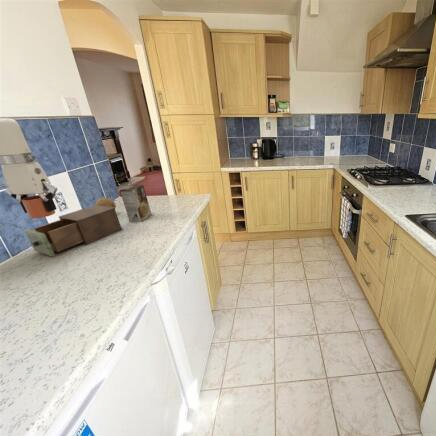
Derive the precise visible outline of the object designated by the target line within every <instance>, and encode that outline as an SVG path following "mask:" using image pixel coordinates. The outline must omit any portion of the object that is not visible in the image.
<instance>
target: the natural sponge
mask: <svg viewBox="0 0 436 436" xmlns="http://www.w3.org/2000/svg"><path fill="white" fill-rule="evenodd" d="M94 205H101V206H106V207H112V208H115V209H116V208H117V205H116V202H115V201H114V199H111V198H110V197H104V196H103V197H99V198H98V199H97V200H96V202H95V203H94Z"/></svg>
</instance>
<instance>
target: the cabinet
mask: <svg viewBox="0 0 436 436" xmlns="http://www.w3.org/2000/svg"><path fill="white" fill-rule="evenodd" d="M58 218H59V220H61V219H65V220H69V221H73V222H77V225H78V227H79V229H80V232H81V234H82V237H83V239H84V242H81V243H80V244H83V245H90V244H92V243H94V242H96V241H98V240H101V239H103V238H105V237H108V236H111V235H112V234H115V233H117V232H120V231H123V228H122V226H121V225H122V224H121V223H120V220H119V217H118V214H117V211H116V208H112V207H106V206H101V205H95V204H94V205H91V206H88V207H85V208H81V209H77V210H75V211H72V212H68V213H65V214H61V215H59V216H58Z"/></svg>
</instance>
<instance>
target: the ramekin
mask: <svg viewBox="0 0 436 436" xmlns="http://www.w3.org/2000/svg"><path fill="white" fill-rule="evenodd" d="M44 195H45V196H47V195H46V194H44ZM21 201H22V203H23V205H24V207H25V209H26V211H27V213H26V214H27V215H28V217H29V218H30V219H34V220H35V219H43V218H46V217H50V216H52V215H55V214H56V210H53V211H51V212H47V210H46V208H45V206H44V203H43V201H45V200H43V199H42V198H41V197H40V196H39V195H38V194H34V195H30V196H28V197H26V198H23V199H21Z"/></svg>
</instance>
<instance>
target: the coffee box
mask: <svg viewBox="0 0 436 436" xmlns="http://www.w3.org/2000/svg"><path fill="white" fill-rule="evenodd" d="M144 186H145V185H144V184H130V185H128V186H126V187H124V188H122V189H119V190H118V191H119V194H120V197H121V199H122V203H123V205H124V208H125V212H126V215H127V218H128V221H129V222H143V221H145V220H146V219H147V218H148V217H150V216H152V211H151V207H150V204H149V201H148V197H147V193H146V191H145V187H144Z"/></svg>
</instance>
